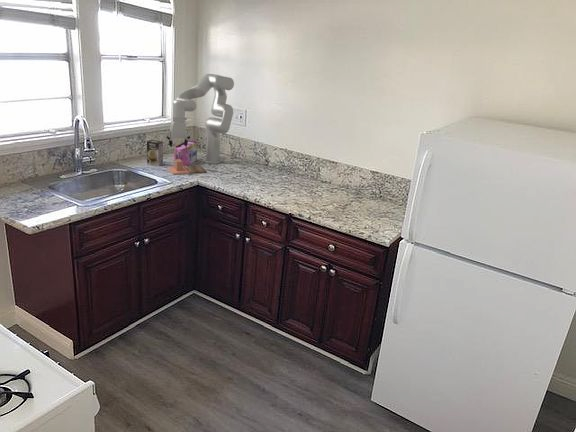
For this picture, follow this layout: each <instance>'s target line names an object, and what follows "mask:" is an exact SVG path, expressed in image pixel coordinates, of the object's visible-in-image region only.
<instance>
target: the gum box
mask: <svg viewBox="0 0 576 432" xmlns="http://www.w3.org/2000/svg"><path fill="white" fill-rule="evenodd" d="M173 153H174V154H173V155H174V157H173V159H181V160H182V161H183V166H190V165H191V164H192V163H194V162H196V161H197V159H198V141H194V140H188V145H187V147H186V146H184V141H183V142H181V143H179V144H177V145H175V146H174V152H173Z"/></svg>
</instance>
